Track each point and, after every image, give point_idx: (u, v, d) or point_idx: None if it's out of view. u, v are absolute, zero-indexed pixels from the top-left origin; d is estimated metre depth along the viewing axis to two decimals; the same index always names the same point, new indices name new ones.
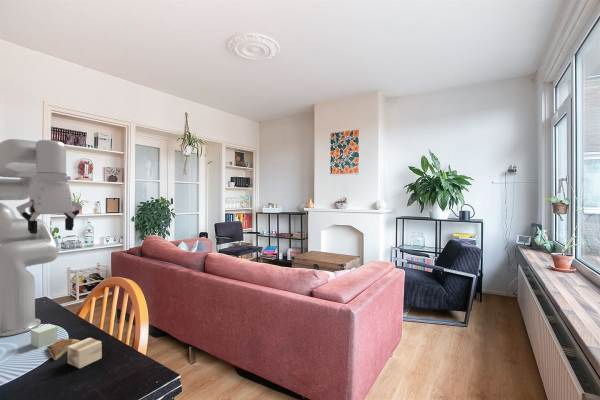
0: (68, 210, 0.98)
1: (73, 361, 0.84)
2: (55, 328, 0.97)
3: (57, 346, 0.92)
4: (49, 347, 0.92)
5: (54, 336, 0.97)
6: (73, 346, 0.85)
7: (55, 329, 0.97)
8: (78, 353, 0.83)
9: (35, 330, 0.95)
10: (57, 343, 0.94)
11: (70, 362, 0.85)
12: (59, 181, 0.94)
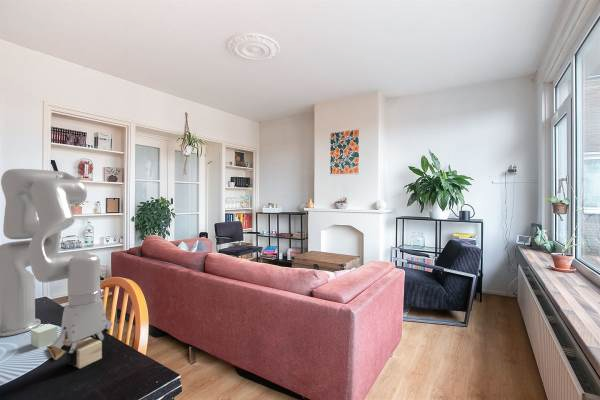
0: (102, 328, 0.89)
1: None
2: (55, 328, 0.97)
3: None
4: (49, 347, 0.92)
5: (54, 336, 0.97)
6: None
7: (55, 329, 0.97)
8: (79, 353, 0.83)
9: (35, 330, 0.95)
10: None
11: None
12: (93, 302, 0.85)
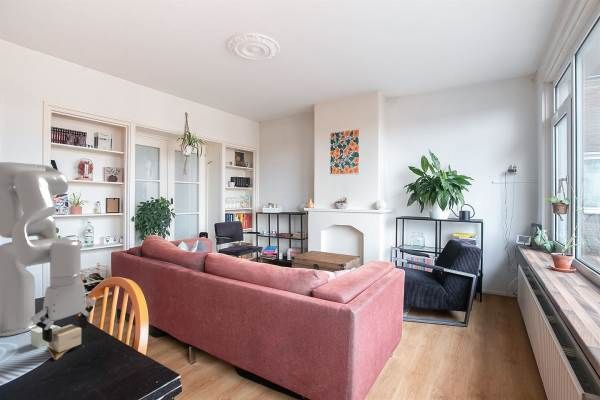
0: (82, 309, 0.95)
1: (53, 345, 0.90)
2: (55, 328, 0.97)
3: None
4: None
5: None
6: (54, 331, 0.91)
7: (55, 329, 0.97)
8: (58, 338, 0.89)
9: (35, 330, 0.95)
10: None
11: (51, 346, 0.91)
12: (74, 283, 0.91)
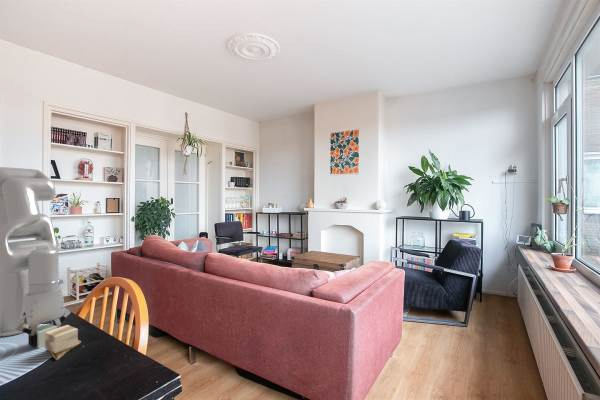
0: (61, 315, 0.99)
1: (49, 346, 0.89)
2: (55, 328, 0.97)
3: None
4: None
5: None
6: (50, 332, 0.91)
7: None
8: (55, 339, 0.88)
9: None
10: None
11: (47, 347, 0.90)
12: (51, 290, 0.95)
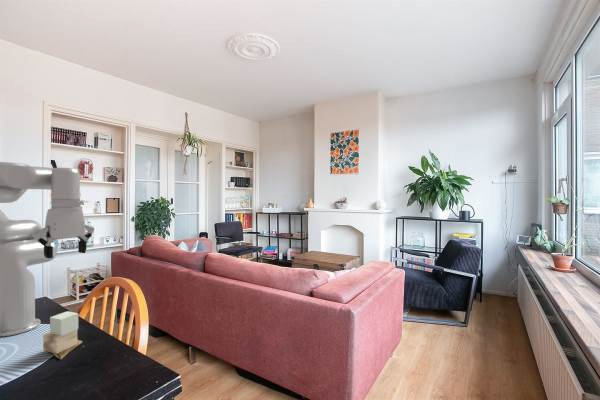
0: (81, 234, 1.02)
1: (49, 347, 0.89)
2: (76, 315, 0.93)
3: None
4: None
5: (75, 323, 0.93)
6: (48, 333, 0.90)
7: (76, 316, 0.93)
8: (56, 339, 0.88)
9: (55, 317, 0.90)
10: None
11: (46, 349, 0.90)
12: (73, 207, 0.98)
